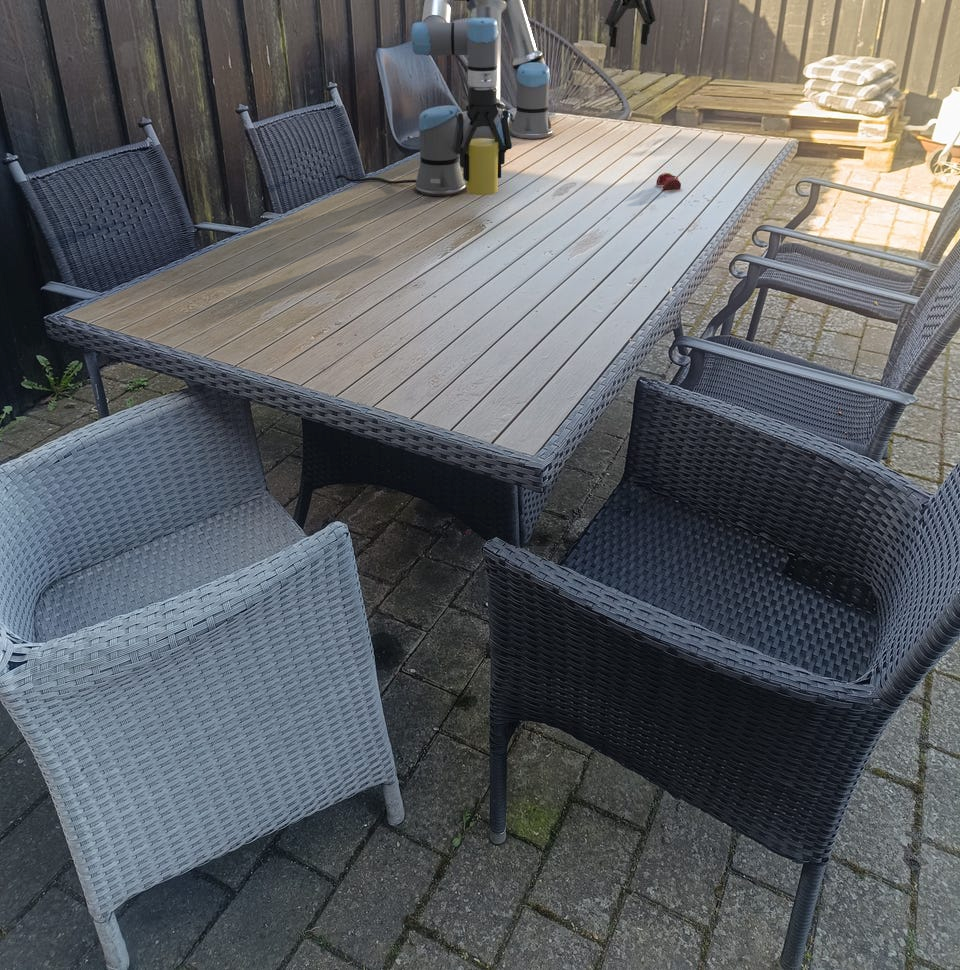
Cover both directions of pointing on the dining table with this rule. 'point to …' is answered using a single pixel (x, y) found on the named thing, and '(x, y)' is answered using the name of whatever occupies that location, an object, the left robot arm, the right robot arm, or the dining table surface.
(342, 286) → the dining table surface
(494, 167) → the cylinder
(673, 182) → the dental model
